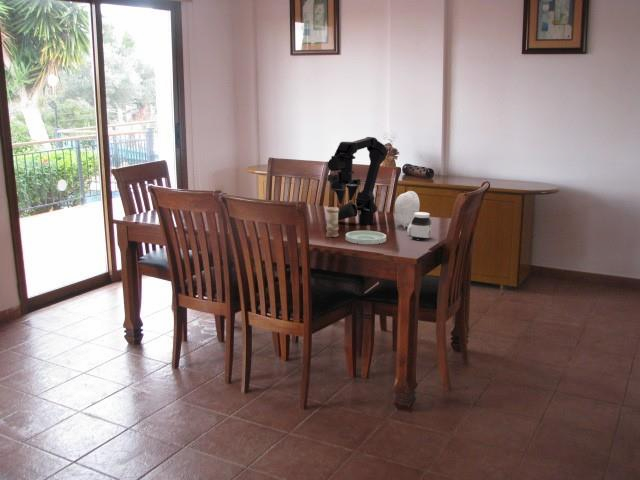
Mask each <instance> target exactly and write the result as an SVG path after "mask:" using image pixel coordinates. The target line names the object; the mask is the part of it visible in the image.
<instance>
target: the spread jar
mask: <svg viewBox="0 0 640 480" xmlns="http://www.w3.org/2000/svg"><path fill="white" fill-rule="evenodd" d="M413 213H414V212H413ZM408 225H409V224H408ZM406 228H407V229H406V232H407V234H408V235H410V236H411V238H412V240H413V239H414V240H415V239H419V240H418V241H425V240H424V239H428V238H429V239H430V237H431V235H432V220H431V218H430V213H429V212H425V211H419V212H416V213H414V218H413V220H412V223H411V224H410V225H409V226H408V227H406ZM429 239H428V240H429Z"/></svg>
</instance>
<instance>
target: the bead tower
mask: <svg viewBox="0 0 640 480" xmlns="http://www.w3.org/2000/svg"><path fill="white" fill-rule="evenodd" d="M338 208H339V207H336V206H330V207H329V206H328V207H327V208H326V212H327V219H326V220H327V224H326V228H325V229H326V233H325V234H326V235H325V236H326V238H331V237H335V238H338V237H339V233H338V231H339V230H340V229H339V228H340V227H339V220H338V212H339V209H338Z"/></svg>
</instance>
